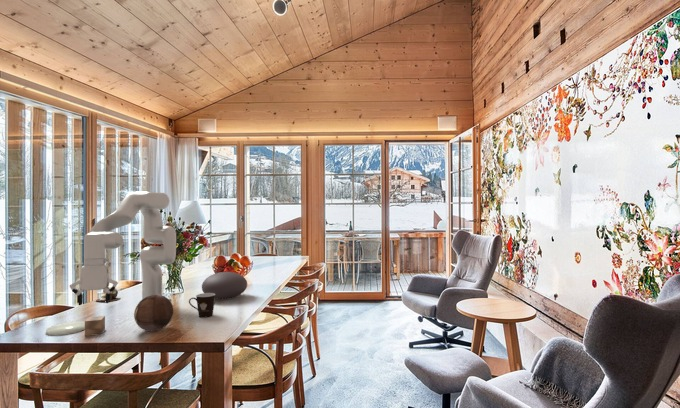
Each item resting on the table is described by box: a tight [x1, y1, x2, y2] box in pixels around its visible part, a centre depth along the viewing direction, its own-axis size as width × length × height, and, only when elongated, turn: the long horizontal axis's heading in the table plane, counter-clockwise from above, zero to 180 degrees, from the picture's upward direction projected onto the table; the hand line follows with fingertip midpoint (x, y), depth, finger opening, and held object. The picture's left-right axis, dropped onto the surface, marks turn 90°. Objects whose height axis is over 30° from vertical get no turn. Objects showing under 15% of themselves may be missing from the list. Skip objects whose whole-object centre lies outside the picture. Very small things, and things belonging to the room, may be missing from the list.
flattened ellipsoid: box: [201, 271, 248, 300], centre depth 220 cm, size 25×25×15 cm
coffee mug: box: [188, 292, 216, 319], centre depth 186 cm, size 12×9×10 cm
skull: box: [95, 285, 122, 302], centre depth 219 cm, size 12×10×10 cm
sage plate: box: [45, 321, 85, 336], centre depth 166 cm, size 15×15×1 cm
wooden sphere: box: [133, 294, 174, 332], centre depth 164 cm, size 15×15×15 cm
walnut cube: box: [84, 315, 106, 336], centre depth 162 cm, size 6×6×6 cm
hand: (94, 303), depth 161 cm, fingers open, 9 cm apart
